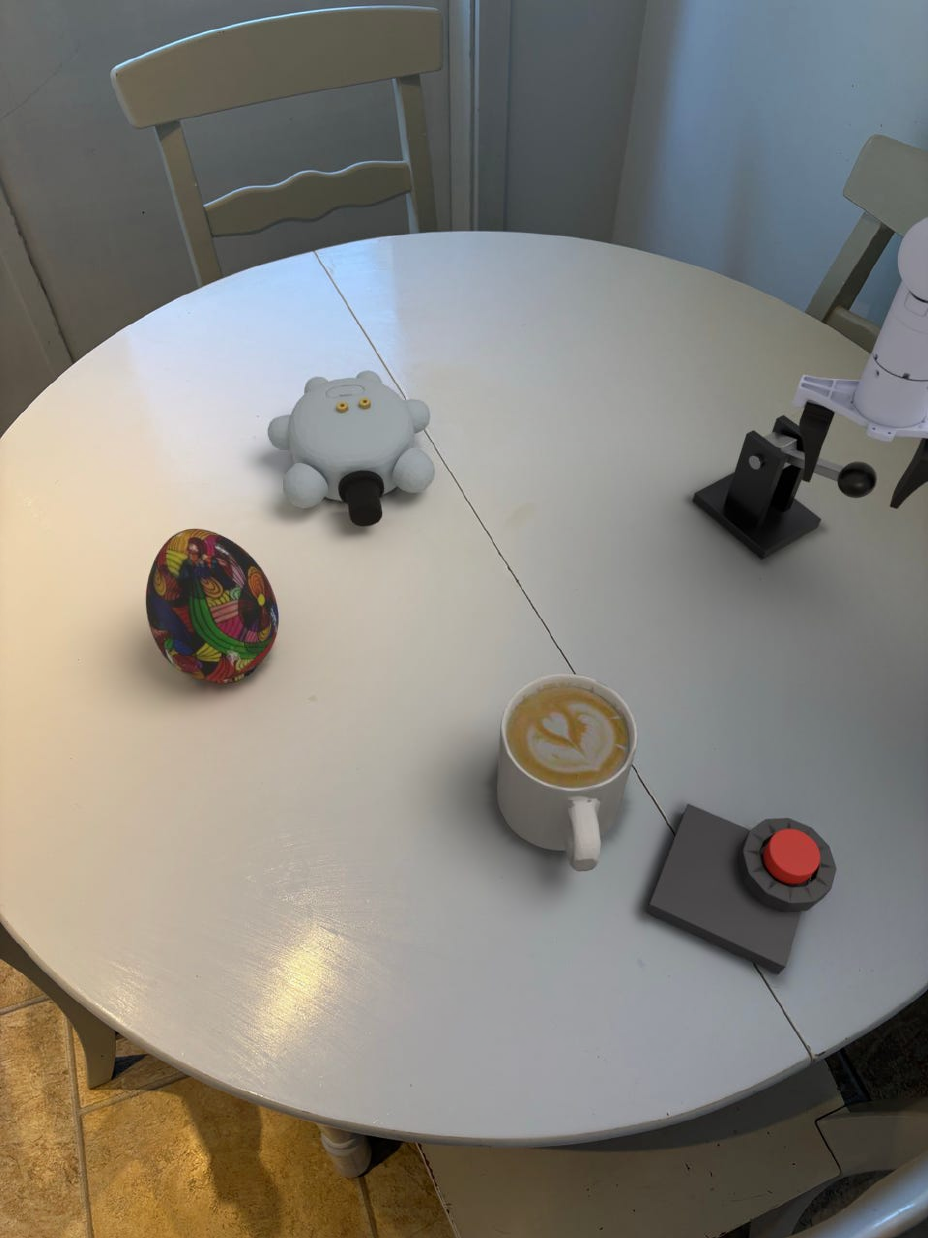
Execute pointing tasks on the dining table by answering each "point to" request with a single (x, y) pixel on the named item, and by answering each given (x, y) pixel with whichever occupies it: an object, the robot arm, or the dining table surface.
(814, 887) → the button block
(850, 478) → the lever
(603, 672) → the dining table surface
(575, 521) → the dining table surface
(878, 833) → the dining table surface
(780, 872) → the button
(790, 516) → the bracket
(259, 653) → the egg
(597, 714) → the coffee mug
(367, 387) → the figurine
